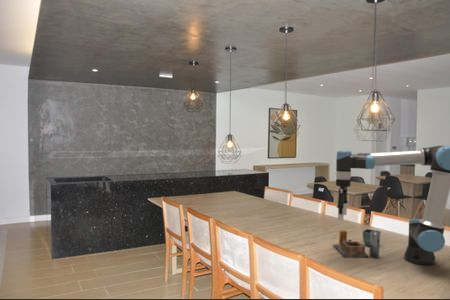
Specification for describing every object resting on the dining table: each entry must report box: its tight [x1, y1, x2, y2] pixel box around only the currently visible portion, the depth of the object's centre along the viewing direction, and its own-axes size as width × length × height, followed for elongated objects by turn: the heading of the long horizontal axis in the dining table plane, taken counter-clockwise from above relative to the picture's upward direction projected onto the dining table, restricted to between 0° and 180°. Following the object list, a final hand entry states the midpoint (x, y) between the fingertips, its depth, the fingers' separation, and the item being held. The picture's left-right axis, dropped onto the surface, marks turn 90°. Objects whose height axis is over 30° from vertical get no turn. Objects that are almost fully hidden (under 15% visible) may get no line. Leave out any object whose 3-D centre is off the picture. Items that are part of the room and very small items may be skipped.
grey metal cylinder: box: [369, 230, 381, 259], centre depth 193 cm, size 5×5×14 cm
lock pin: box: [338, 229, 353, 246], centre depth 204 cm, size 4×20×9 cm, turn 1°
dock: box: [332, 238, 370, 259], centre depth 201 cm, size 14×19×6 cm
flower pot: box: [362, 228, 382, 247], centre depth 213 cm, size 9×9×9 cm
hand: (342, 217), depth 186 cm, fingers open, 13 cm apart
